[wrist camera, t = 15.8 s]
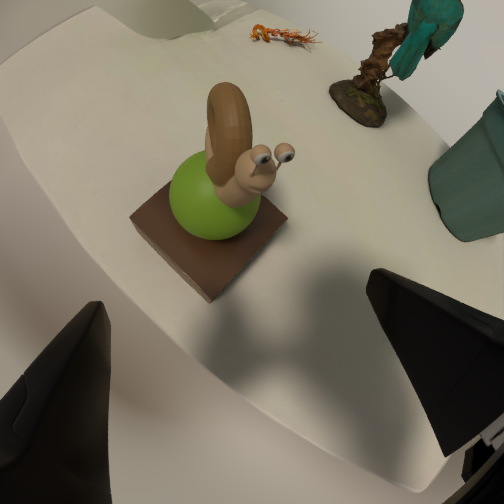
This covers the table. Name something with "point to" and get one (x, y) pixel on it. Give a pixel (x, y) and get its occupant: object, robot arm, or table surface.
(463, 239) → the flower pot
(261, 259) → the table surface
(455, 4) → the sculpture
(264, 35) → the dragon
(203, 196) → the snail figurine
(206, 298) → the riser
